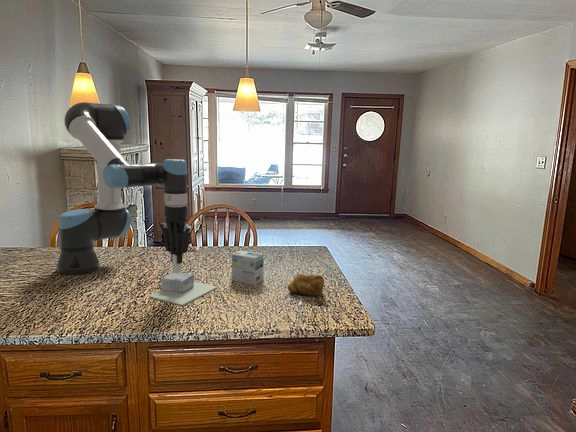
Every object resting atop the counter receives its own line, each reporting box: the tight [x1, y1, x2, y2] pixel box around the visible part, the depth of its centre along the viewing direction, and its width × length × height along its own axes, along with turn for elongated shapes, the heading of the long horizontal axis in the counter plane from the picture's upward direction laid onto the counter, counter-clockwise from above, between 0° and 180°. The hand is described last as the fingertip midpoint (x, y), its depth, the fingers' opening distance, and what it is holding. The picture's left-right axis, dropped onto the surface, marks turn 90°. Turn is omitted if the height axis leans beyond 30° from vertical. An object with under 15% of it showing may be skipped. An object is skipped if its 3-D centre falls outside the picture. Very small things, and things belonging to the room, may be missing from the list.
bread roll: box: [287, 273, 325, 297], centre depth 148 cm, size 13×10×8 cm
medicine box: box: [160, 271, 195, 293], centre depth 147 cm, size 8×4×9 cm
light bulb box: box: [231, 250, 265, 286], centre depth 158 cm, size 11×7×11 cm, turn 65°
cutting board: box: [149, 281, 218, 307], centre depth 144 cm, size 14×19×1 cm
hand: (177, 271), depth 144 cm, fingers closed
